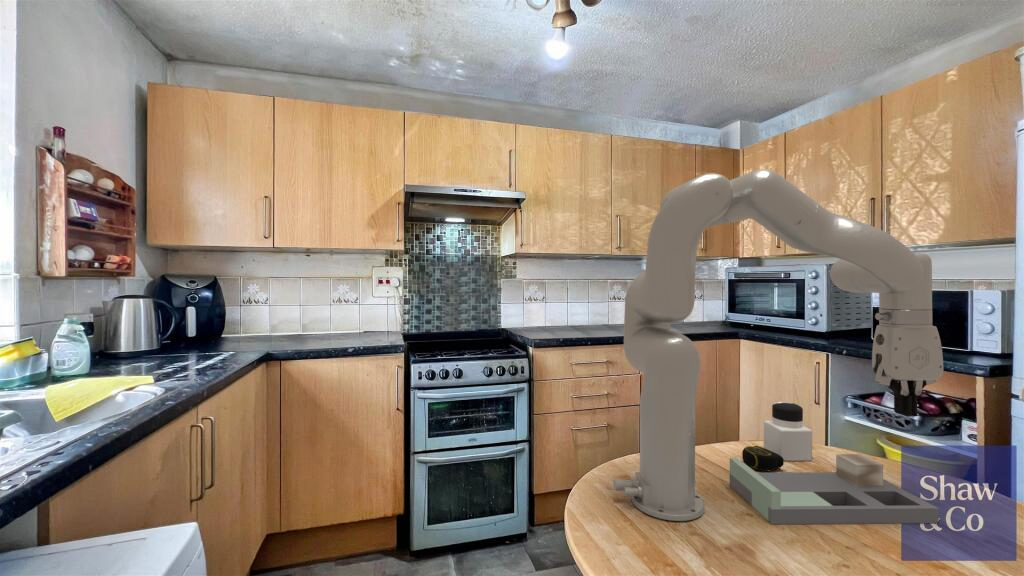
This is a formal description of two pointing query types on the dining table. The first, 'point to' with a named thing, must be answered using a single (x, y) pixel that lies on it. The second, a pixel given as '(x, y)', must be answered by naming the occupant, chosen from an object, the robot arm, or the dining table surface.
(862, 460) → the block
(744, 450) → the tape measure
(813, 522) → the grey green slotted tray
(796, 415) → the medicine bottle
